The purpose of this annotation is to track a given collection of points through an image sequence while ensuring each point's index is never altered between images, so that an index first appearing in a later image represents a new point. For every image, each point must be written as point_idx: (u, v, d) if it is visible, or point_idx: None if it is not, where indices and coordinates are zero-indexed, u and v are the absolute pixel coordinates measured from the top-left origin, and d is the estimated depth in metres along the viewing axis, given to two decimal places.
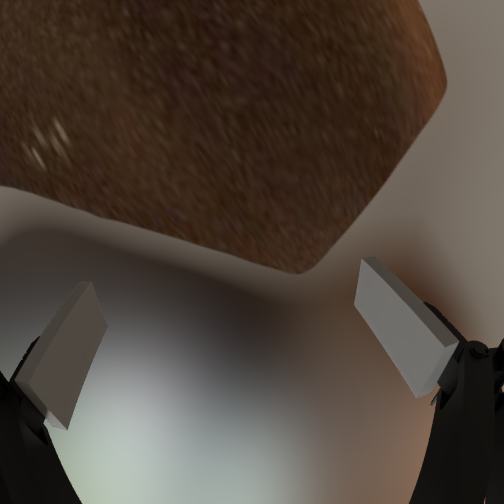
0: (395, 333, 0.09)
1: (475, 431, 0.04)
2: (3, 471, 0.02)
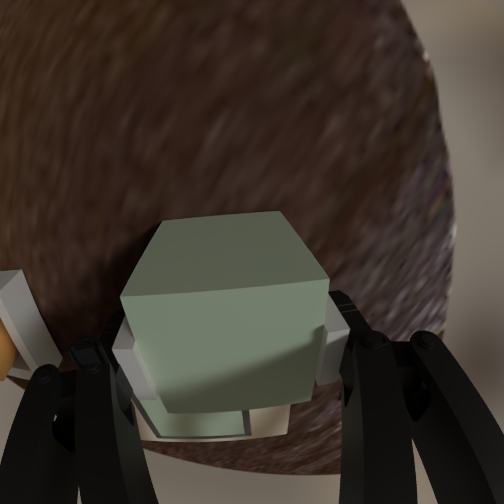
0: None
1: (383, 432, 0.05)
2: (77, 451, 0.04)
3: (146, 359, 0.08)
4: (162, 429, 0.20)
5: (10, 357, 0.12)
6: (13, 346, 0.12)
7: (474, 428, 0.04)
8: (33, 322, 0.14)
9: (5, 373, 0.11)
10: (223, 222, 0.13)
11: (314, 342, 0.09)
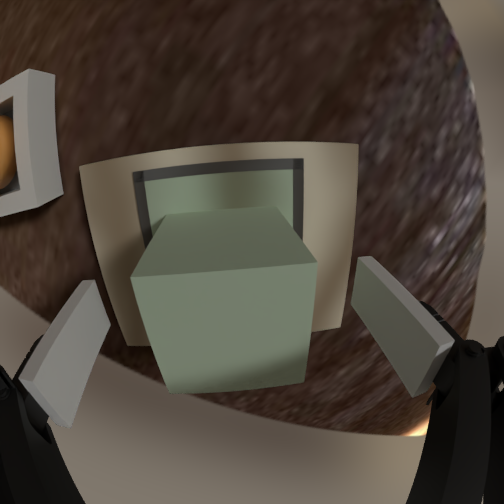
0: (391, 332, 0.10)
1: (471, 431, 0.04)
2: (6, 470, 0.03)
3: (151, 337, 0.09)
4: None
5: (2, 159, 0.09)
6: (10, 151, 0.10)
7: None
8: (46, 127, 0.11)
9: None
10: (223, 215, 0.14)
11: (305, 322, 0.10)
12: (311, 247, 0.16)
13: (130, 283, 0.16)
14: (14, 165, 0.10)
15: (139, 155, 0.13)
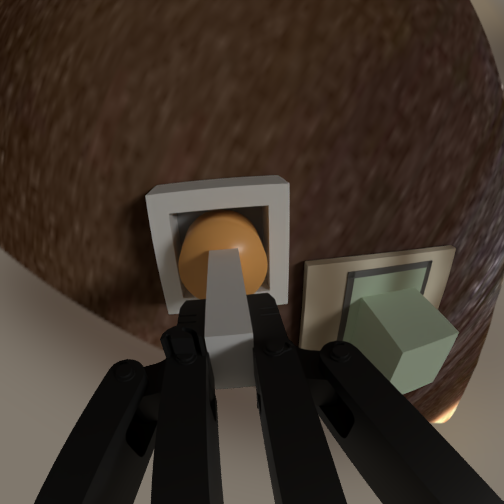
0: None
1: (295, 446, 0.05)
2: (157, 446, 0.05)
3: (393, 376, 0.16)
4: None
5: None
6: None
7: (411, 446, 0.04)
8: None
9: (259, 285, 0.16)
10: (397, 299, 0.21)
11: (446, 355, 0.17)
12: None
13: (321, 339, 0.23)
14: None
15: (354, 261, 0.20)
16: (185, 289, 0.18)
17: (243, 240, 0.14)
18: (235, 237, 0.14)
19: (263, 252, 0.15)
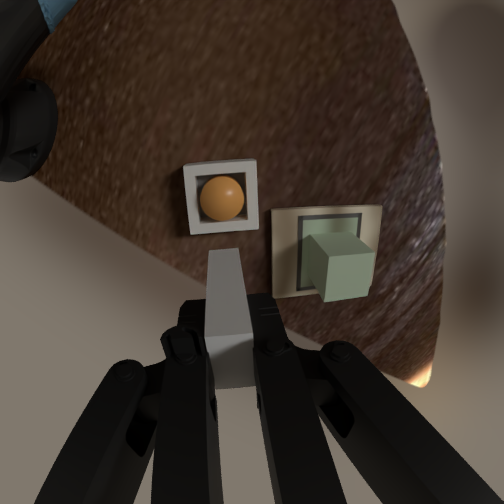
0: None
1: (295, 446, 0.05)
2: (157, 446, 0.05)
3: (328, 277, 0.30)
4: (304, 278, 0.38)
5: None
6: None
7: (411, 446, 0.04)
8: None
9: (240, 210, 0.30)
10: (335, 235, 0.35)
11: (370, 270, 0.31)
12: None
13: (286, 264, 0.37)
14: None
15: (301, 209, 0.34)
16: (200, 221, 0.32)
17: (232, 185, 0.29)
18: (228, 184, 0.29)
19: (241, 191, 0.29)
